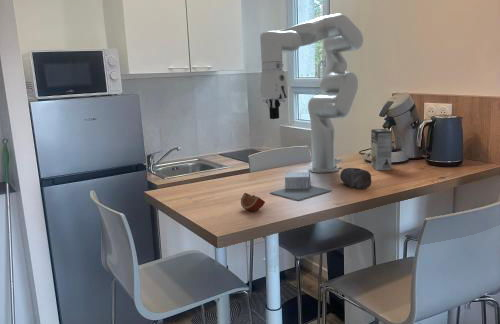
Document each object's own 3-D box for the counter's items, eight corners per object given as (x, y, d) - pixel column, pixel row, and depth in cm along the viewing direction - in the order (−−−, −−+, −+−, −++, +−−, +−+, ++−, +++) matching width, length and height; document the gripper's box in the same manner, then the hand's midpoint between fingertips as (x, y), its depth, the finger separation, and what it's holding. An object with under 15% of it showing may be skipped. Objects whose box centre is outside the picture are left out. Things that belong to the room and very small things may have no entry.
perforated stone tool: (335, 183, 160) (335, 165, 159) (347, 181, 162) (347, 163, 161) (360, 192, 146) (360, 172, 145) (373, 190, 148) (373, 170, 147)
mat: (302, 184, 160) (302, 183, 160) (331, 191, 149) (331, 190, 149) (270, 193, 150) (270, 192, 150) (298, 201, 140) (298, 199, 139)
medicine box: (285, 189, 154) (309, 189, 152) (284, 177, 153) (309, 176, 151) (287, 183, 161) (310, 183, 160) (286, 172, 160) (310, 172, 159)
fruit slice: (236, 209, 134) (236, 193, 134) (255, 205, 138) (254, 190, 137) (250, 215, 127) (250, 199, 126) (269, 211, 131) (269, 195, 130)
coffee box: (370, 166, 186) (370, 129, 183) (385, 165, 186) (385, 128, 183) (376, 170, 177) (376, 131, 174) (392, 169, 177) (392, 130, 174)
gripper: (294, 65, 151) (296, 118, 154) (266, 68, 162) (268, 116, 166) (278, 66, 146) (280, 120, 150) (250, 68, 158) (253, 119, 161)
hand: (274, 118), depth 158 cm, fingers closed
